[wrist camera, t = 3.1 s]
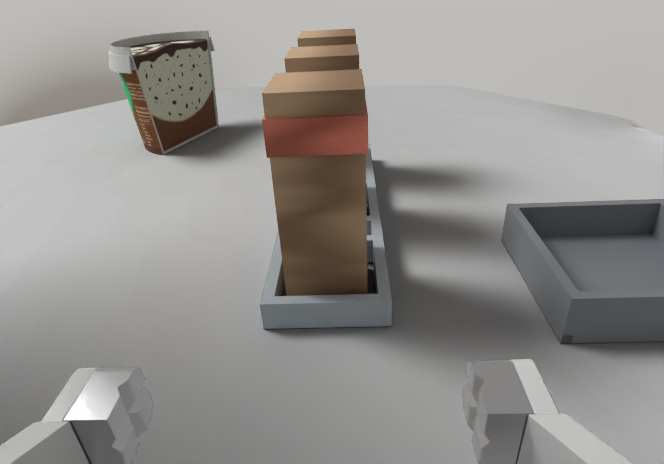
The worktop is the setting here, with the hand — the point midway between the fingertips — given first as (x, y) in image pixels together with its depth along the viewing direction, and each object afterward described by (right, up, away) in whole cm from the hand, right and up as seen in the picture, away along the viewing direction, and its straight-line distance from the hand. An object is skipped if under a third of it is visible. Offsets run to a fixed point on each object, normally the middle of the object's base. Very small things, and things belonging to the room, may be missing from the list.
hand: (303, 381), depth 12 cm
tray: (+16, +1, +13) cm, 20 cm away
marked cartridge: (+1, +1, +14) cm, 14 cm away
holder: (+1, +5, +21) cm, 21 cm away
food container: (-17, +14, +39) cm, 44 cm away
